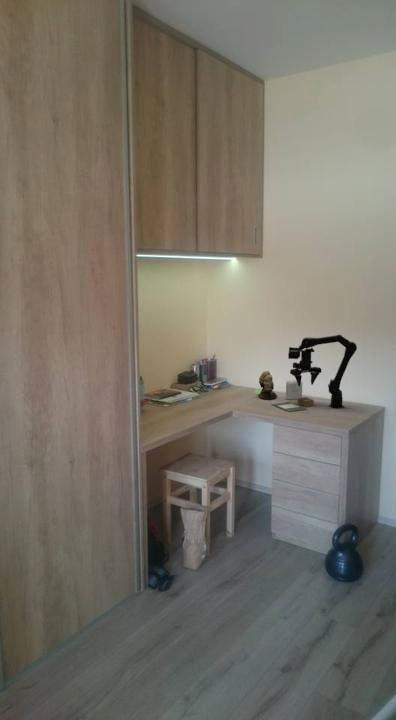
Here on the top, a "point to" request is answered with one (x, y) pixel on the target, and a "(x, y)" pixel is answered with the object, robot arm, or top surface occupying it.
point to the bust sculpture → (267, 386)
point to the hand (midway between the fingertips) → (305, 385)
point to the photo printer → (293, 389)
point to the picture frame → (288, 407)
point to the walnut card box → (305, 402)
